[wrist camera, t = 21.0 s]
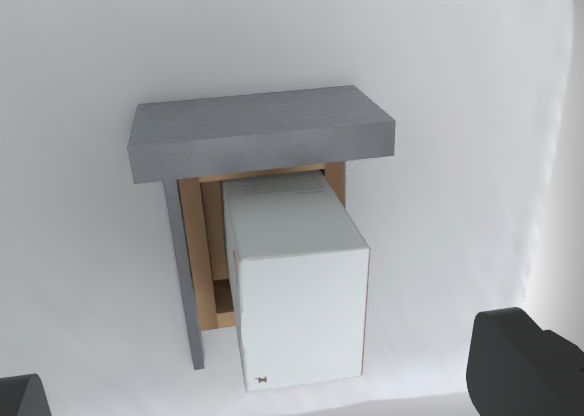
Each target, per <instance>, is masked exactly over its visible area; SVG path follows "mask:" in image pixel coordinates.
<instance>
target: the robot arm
mask: <svg viewBox="0 0 584 416" xmlns="http://www.w3.org/2000/svg"><path fill="white" fill-rule="evenodd" d="M466 382H467V388H468V392H469V395H470V398H471V400H472V403H473V405H474V406H475V408H476V410H477V411H478V413H479V414H480V416H584V352H583V351H582V350H580V348H579V347H578V346H577V345H575V344H573V343H571V342H570V341H568V340H566V339H565V338H563V337H561V336H559V335H558V334H556V333H554V332H553V331H551V330H544V331H543V330H542V329H541V328H540V327H539V326H538V325H537V324H536V323H535V322H534V321H533V320H532V319H531V318H530V317H529V316H528V315H527V313H526V312H525V311H523V310H522V309H521V308H518V307H513V308H506V309H498V310H491V311H484V312H480V313H478V314H477V315H476V317H475V320H474V326H473V332H472V338H471V345H470V351H469V358H468V364H467V371H466ZM0 416H52V415H51V412H50V409H49V405H48V402H47V398H46V395H45V391H44V388H43V385H42V381H41V379H40V377H39V376H38V375H37V374H28V375H21V376H13V377H6V378H0Z"/></svg>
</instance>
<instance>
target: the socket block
mask: <svg viewBox="0 0 584 416" xmlns="http://www.w3.org/2000/svg"><path fill="white" fill-rule="evenodd" d="M318 169H320V170H321V171H322V173H323V175H324V176H325V178H326V180H327V181H328V183H329V184H330V186H331V188H332V189H333V191H334V192H335V194H336V195H337V197H338V199H339V200H340V202H341V203H342V205H343V207H344V161H340V162H331V163H321V164H312V165H303V166H294V167H285V168H276V169H266V170H257V171H248V172H239V173H230V174H221V175H211V176H202V177H193V178H184V179H178V183H179V190H180V196H181V203H182V210H183V217H184V223H185V230H186V237H187V244H188V250H189V257H190V264H191V271H192V277H193V284H194V291H195V297H196V304H197V311H198V318H199V324H200V331H204V330H211V329H218V328H224V327H231V326H236V322H235V314H234V307H233V300H232V293H231V287H230V281H229V275H228V269H227V263H226V256H225V244H224V231H223V217H222V203H221V188H220V180H227V179H236V178H245V177H254V176H263V175H272V174H281V173H291V172H300V171H309V170H318Z"/></svg>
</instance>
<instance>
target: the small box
mask: <svg viewBox="0 0 584 416" xmlns="http://www.w3.org/2000/svg"><path fill="white" fill-rule="evenodd" d="M220 188H221V203H222V217H223V231H224V244H225V256H226V263H227V269H228V275H229V281H230V287H231V293H232V300H233V307H234V314H235V322H236V329H237V336H238V343H239V350H240V357H241V363H242V370H243V377H244V383H245V389H246V392H254V391H263V390H272V389H279V388H287V387H294V386H301V385H308V384H314V383H321V382H328V381H335V380H341V379H347V378H354V377H360V376H362V370H363V355H364V339H365V323H366V307H367V292H368V276H369V259H370V248H369V246H368V245H367V243H366V241H365V240H364V238H363V237H362V235H361V234H360V232H359V230H358V229H357V227H356V226H355V224H354V222H353V221H352V219H351V218H350V216H349V215H348V213H347V211H346V210H345V208H344V207H343V205H342V203H341V202H340V200H339V199H338V197H337V195H336V194H335V192H334V191H333V189H332V188H331V186H330V184H329V183H328V181H327V180H326V178H325V176H324V175H323V173H322V171H321V170H320V169H318V170H309V171H300V172H291V173H281V174H272V175H263V176H254V177H245V178H236V179H227V180H220Z"/></svg>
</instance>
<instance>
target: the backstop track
mask: <svg viewBox="0 0 584 416" xmlns="http://www.w3.org/2000/svg"><path fill="white" fill-rule="evenodd" d="M394 143H395V120H394V119H393V118H392V117H391V116H389V115H388V114H387V113H386V112H385V111H384V110H382V109H381V108H380V107H379V106H378V105H376V104H375V103H374V102H373V101H372V100H371V99H369V98H368V97H367V96H366V95H365V94H363V93H362V92H361V91H360V90H359V89H358V88H356V87H355V86H354V85H353V86H342V87H330V88H319V89H308V90H297V91H285V92H274V93H263V94H252V95H241V96H229V97H218V98H207V99H196V100H185V101H173V102H162V103H151V104H140V105H138V108H137V112H136V116H135V120H134V124H133V128H132V131H131V135H130V139H129V143H128V147H127V148H128V153H129V159H130V164H131V169H132V175H133V180H134V184H138V183H147V182H156V181H164V185H165V192H166V198H167V204H168V210H169V216H170V223H171V229H172V235H173V241H174V247H175V254H176V260H177V266H178V272H179V278H180V285H181V291H182V297H183V303H184V310H185V316H186V322H187V328H188V334H189V341H190V347H191V353H192V359H193V365H194V370H198V369H204V355H203V348H202V342H201V335H200V328H199V321H198V315H197V308H196V301H195V294H194V288H193V281H192V274H191V268H190V261H189V254H188V247H187V241H186V234H185V227H184V221H183V214H182V207H181V200H180V194H179V187H178V180H177V179H184V178H193V177H202V176H211V175H221V174H230V173H239V172H248V171H257V170H266V169H276V168H285V167H294V166H303V165H312V164H321V163H331V162H340V161H344V208H345V161H349V160H358V159H367V158H376V157H386V156H394Z"/></svg>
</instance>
